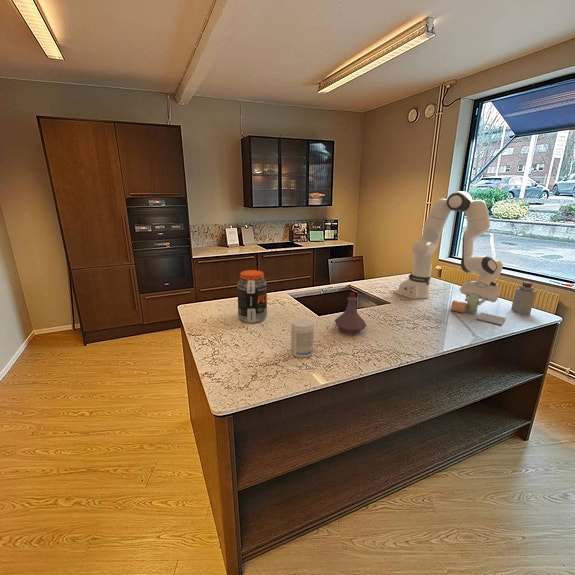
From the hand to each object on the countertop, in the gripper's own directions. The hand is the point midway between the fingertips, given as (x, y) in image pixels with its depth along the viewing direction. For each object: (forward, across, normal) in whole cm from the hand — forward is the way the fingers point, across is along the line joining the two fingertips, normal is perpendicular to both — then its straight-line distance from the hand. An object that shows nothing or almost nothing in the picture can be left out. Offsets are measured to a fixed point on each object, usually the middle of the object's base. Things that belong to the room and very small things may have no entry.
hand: (472, 302), depth 187 cm
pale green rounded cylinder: (+4, 0, +5) cm, 6 cm away
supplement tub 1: (+84, -61, -75) cm, 128 cm away
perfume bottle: (-14, +16, +23) cm, 32 cm away
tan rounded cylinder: (+8, -4, -4) cm, 9 cm away
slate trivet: (+5, +12, +3) cm, 13 cm away
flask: (+60, -20, -51) cm, 81 cm away
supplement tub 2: (+84, -15, -75) cm, 113 cm away
